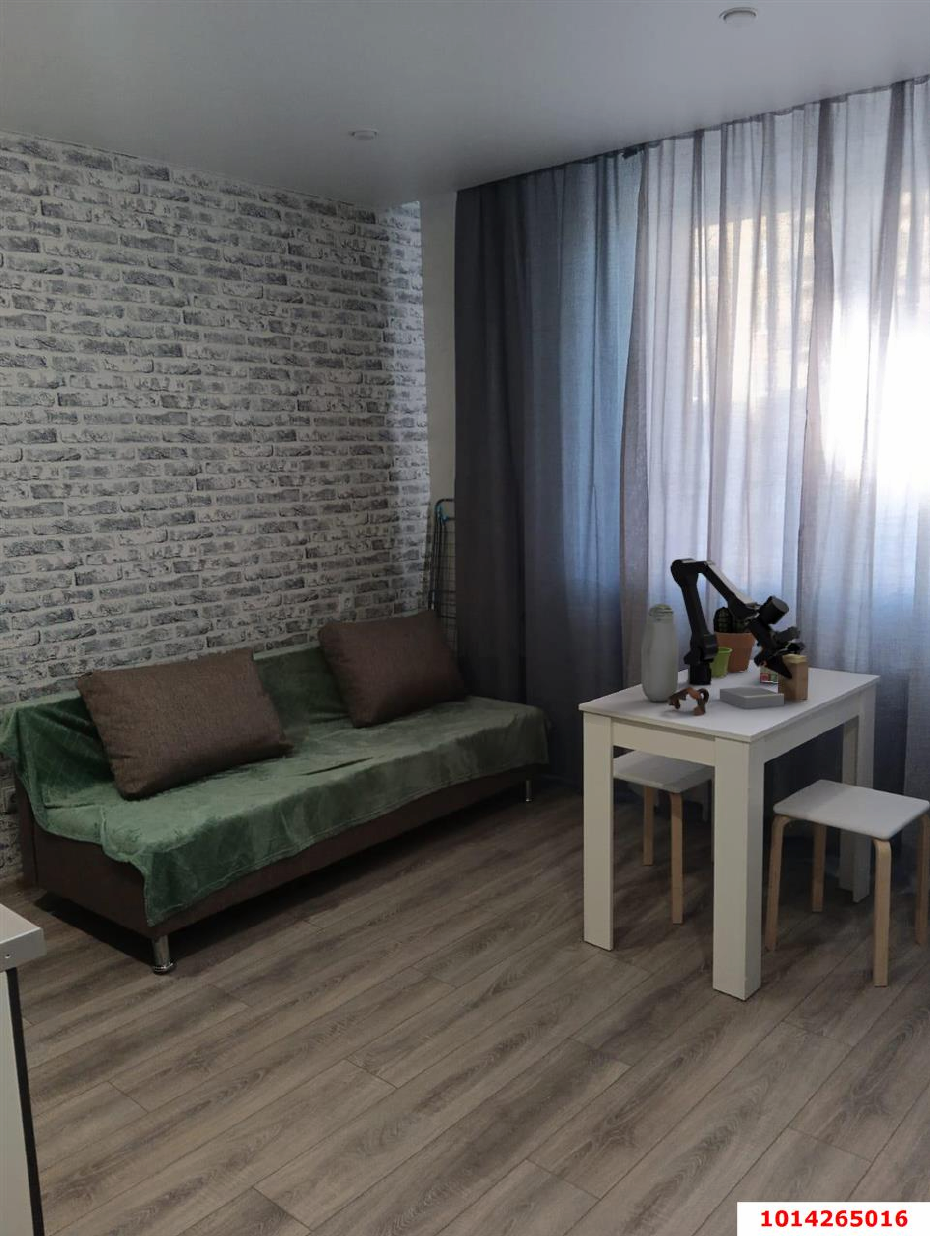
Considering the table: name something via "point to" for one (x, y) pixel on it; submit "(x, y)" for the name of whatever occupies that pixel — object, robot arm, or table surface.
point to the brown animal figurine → (694, 694)
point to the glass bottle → (660, 654)
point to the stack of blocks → (769, 672)
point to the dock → (751, 697)
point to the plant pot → (720, 662)
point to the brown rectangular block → (794, 678)
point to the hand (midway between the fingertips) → (797, 676)
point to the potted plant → (733, 639)
